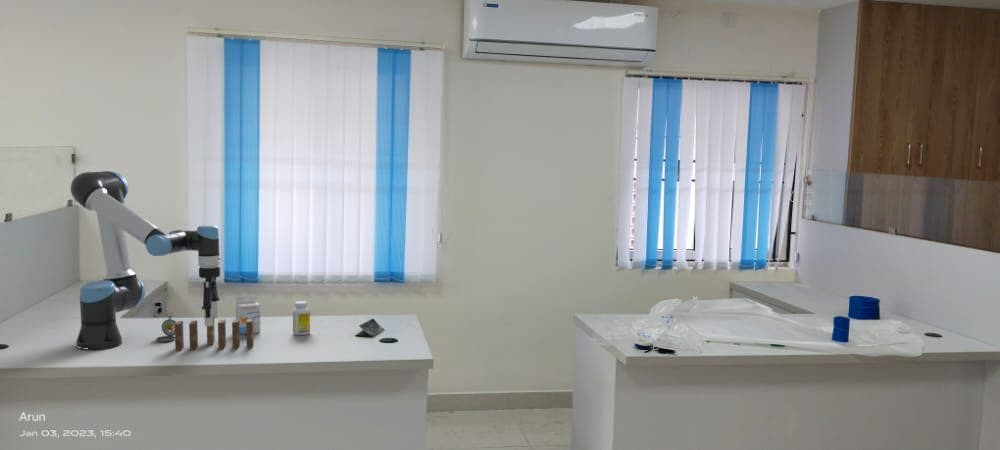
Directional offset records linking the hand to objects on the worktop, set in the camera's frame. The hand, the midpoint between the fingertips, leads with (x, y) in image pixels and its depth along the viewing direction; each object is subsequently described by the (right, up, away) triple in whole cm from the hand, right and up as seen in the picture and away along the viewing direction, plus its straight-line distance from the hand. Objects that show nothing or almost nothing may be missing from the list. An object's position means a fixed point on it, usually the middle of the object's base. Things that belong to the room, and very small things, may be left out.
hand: (211, 322), depth 299 cm
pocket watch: (-19, -8, +5) cm, 21 cm away
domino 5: (+16, -9, -3) cm, 18 cm away
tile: (-1, -8, +1) cm, 8 cm away
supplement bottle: (+29, -7, +18) cm, 36 cm away
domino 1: (-9, -9, -8) cm, 15 cm away
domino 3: (+6, -9, -5) cm, 12 cm away
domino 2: (-4, -9, -7) cm, 12 cm away
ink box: (+8, -7, +19) cm, 22 cm away
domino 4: (+11, -9, -4) cm, 14 cm away
